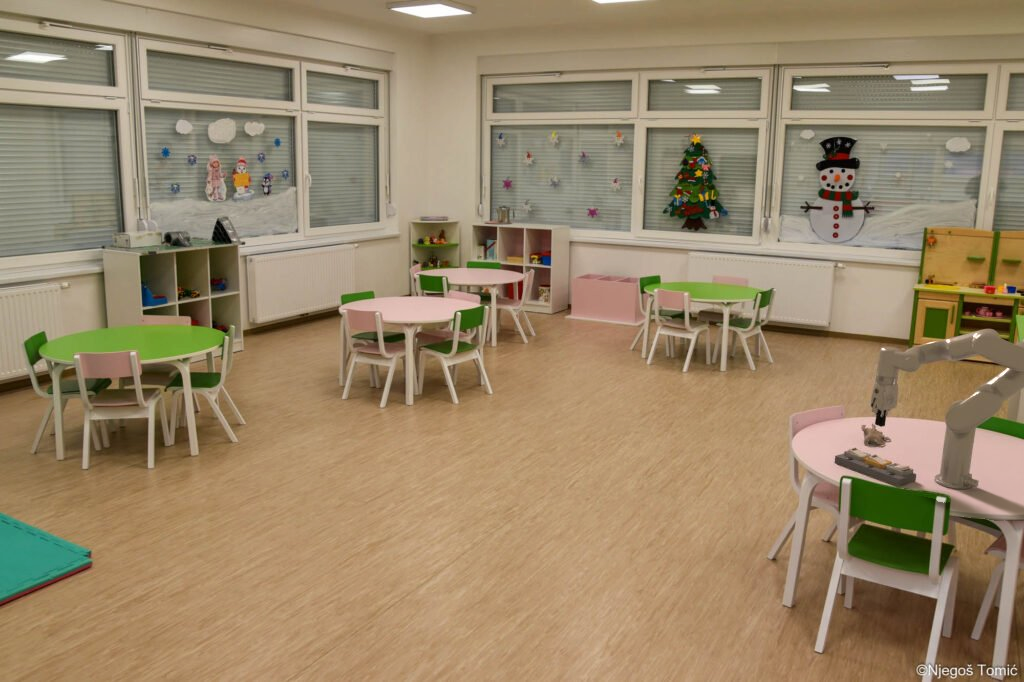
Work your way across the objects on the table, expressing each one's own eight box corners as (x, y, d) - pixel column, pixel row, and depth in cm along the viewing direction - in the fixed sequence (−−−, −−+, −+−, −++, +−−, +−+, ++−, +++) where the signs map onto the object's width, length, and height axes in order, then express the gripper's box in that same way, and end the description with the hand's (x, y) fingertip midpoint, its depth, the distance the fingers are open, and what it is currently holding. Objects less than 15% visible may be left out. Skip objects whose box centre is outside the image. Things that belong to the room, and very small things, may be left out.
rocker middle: (886, 464, 320) (887, 461, 320) (880, 466, 318) (881, 463, 318) (874, 456, 324) (875, 454, 324) (868, 458, 322) (869, 455, 322)
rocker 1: (866, 456, 328) (867, 454, 327) (859, 458, 326) (860, 456, 325) (854, 449, 332) (855, 447, 331) (848, 451, 330) (849, 448, 329)
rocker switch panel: (915, 481, 312) (916, 470, 311) (898, 487, 307) (900, 475, 306) (850, 458, 335) (851, 447, 334) (834, 462, 330) (835, 452, 329)
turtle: (868, 442, 364) (861, 420, 364) (891, 437, 360) (884, 415, 359) (866, 452, 350) (859, 430, 350) (890, 448, 346) (883, 425, 345)
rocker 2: (909, 468, 312) (909, 465, 312) (903, 470, 310) (902, 467, 310) (896, 467, 317) (895, 464, 317) (889, 469, 315) (889, 466, 315)
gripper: (882, 384, 311) (875, 431, 315) (907, 380, 318) (900, 425, 322) (864, 379, 317) (858, 425, 321) (890, 374, 324) (883, 419, 329)
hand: (879, 425), depth 322 cm, fingers closed
